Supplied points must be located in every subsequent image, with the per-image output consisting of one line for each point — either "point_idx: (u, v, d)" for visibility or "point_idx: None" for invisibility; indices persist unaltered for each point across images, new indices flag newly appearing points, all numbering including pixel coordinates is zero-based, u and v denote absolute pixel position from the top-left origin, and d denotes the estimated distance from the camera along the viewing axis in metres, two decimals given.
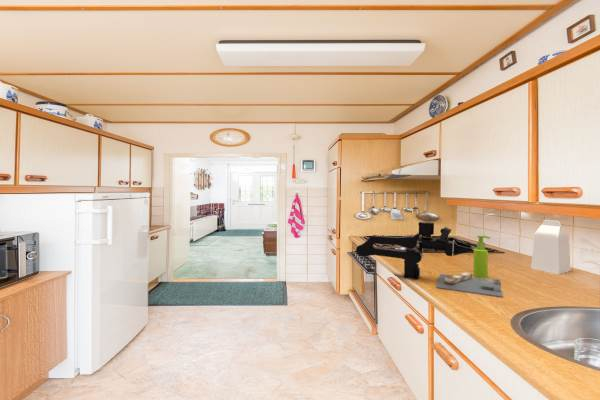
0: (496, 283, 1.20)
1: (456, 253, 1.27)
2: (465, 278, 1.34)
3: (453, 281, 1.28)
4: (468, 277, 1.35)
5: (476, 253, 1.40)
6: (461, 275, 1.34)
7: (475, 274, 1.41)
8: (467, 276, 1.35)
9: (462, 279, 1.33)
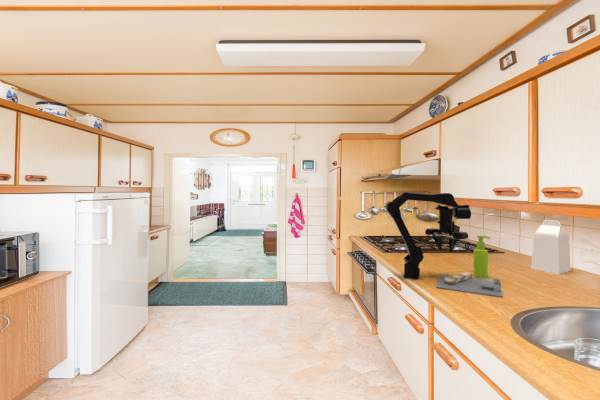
0: (496, 283, 1.20)
1: (452, 241, 1.34)
2: (465, 278, 1.34)
3: (453, 281, 1.28)
4: (468, 277, 1.35)
5: (476, 253, 1.40)
6: (461, 275, 1.34)
7: (475, 274, 1.41)
8: (467, 276, 1.35)
9: (462, 279, 1.33)
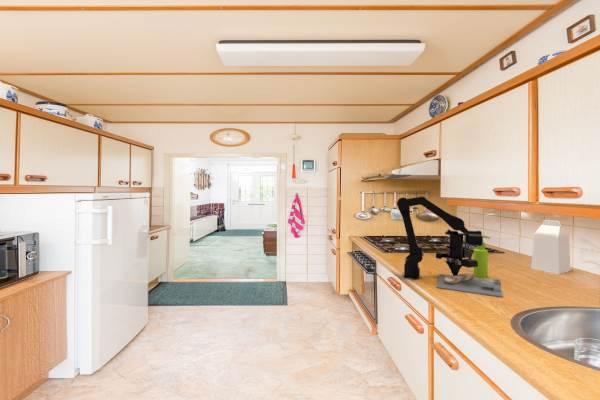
0: (496, 283, 1.20)
1: (455, 266, 1.33)
2: (466, 278, 1.34)
3: (453, 281, 1.28)
4: (469, 277, 1.35)
5: (476, 253, 1.40)
6: (462, 275, 1.34)
7: (475, 274, 1.41)
8: (468, 276, 1.34)
9: (463, 279, 1.33)
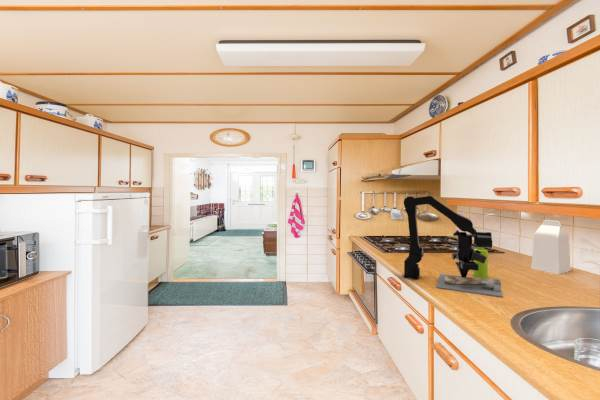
0: (496, 283, 1.20)
1: (460, 268, 1.31)
2: (473, 282, 1.28)
3: (450, 281, 1.29)
4: (479, 282, 1.28)
5: None
6: (469, 278, 1.30)
7: (475, 274, 1.41)
8: (477, 280, 1.28)
9: (468, 282, 1.29)
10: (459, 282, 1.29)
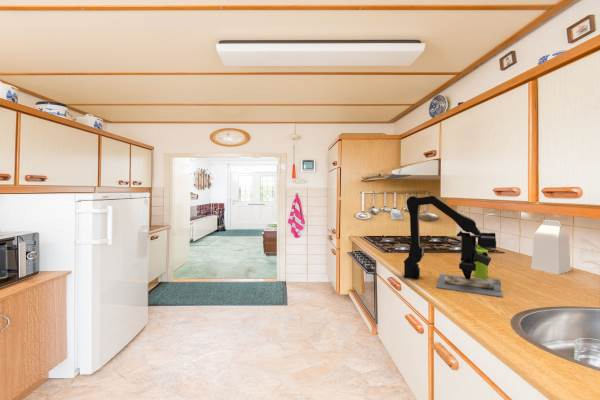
0: (496, 283, 1.20)
1: (462, 268, 1.29)
2: (475, 284, 1.25)
3: (448, 281, 1.29)
4: (481, 285, 1.24)
5: None
6: (471, 280, 1.27)
7: (475, 274, 1.41)
8: (479, 283, 1.24)
9: (469, 284, 1.26)
10: (458, 283, 1.28)
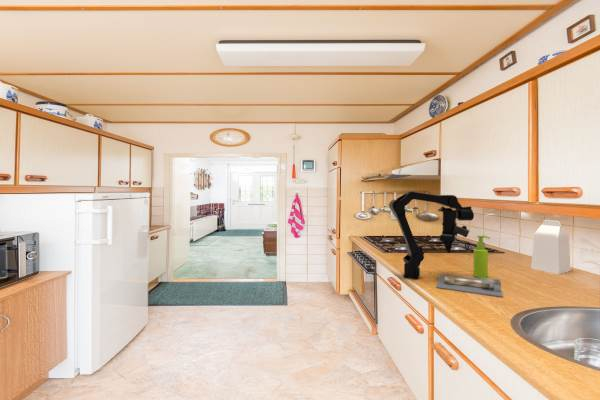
0: (496, 283, 1.20)
1: (444, 241, 1.40)
2: (475, 284, 1.25)
3: (448, 281, 1.29)
4: (481, 285, 1.24)
5: (476, 253, 1.40)
6: (471, 280, 1.27)
7: (475, 274, 1.41)
8: (479, 283, 1.24)
9: (469, 284, 1.26)
10: (458, 283, 1.28)
